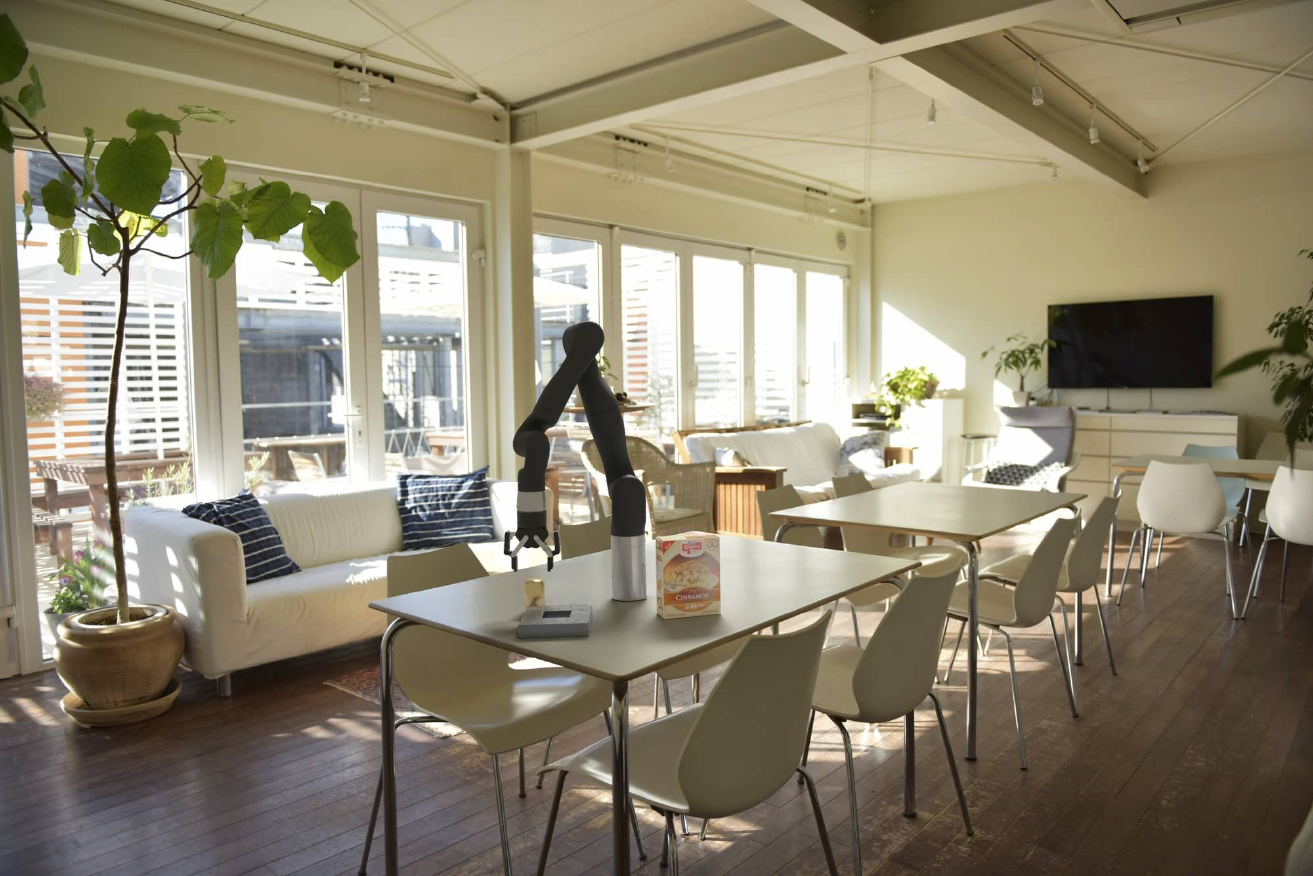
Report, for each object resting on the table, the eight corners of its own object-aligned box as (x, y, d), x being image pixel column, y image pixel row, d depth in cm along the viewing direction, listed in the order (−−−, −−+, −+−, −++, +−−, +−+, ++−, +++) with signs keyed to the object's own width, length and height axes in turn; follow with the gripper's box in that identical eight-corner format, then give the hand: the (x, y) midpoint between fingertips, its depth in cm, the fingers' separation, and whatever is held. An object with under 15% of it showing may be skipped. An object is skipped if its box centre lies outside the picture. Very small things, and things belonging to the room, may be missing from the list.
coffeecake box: (664, 620, 225) (662, 540, 223) (656, 613, 231) (654, 536, 230) (722, 614, 229) (720, 536, 228) (712, 607, 236) (710, 532, 234)
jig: (592, 616, 230) (592, 604, 230) (588, 635, 212) (588, 623, 212) (528, 618, 229) (527, 606, 229) (518, 637, 211) (518, 625, 211)
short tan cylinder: (546, 608, 239) (545, 577, 238) (544, 613, 234) (543, 582, 233) (526, 609, 239) (525, 578, 238) (524, 613, 234) (523, 582, 233)
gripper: (561, 506, 239) (561, 568, 240) (506, 506, 239) (506, 568, 240) (558, 510, 231) (558, 574, 232) (501, 510, 231) (502, 574, 232)
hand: (532, 571), depth 236 cm, fingers open, 8 cm apart
